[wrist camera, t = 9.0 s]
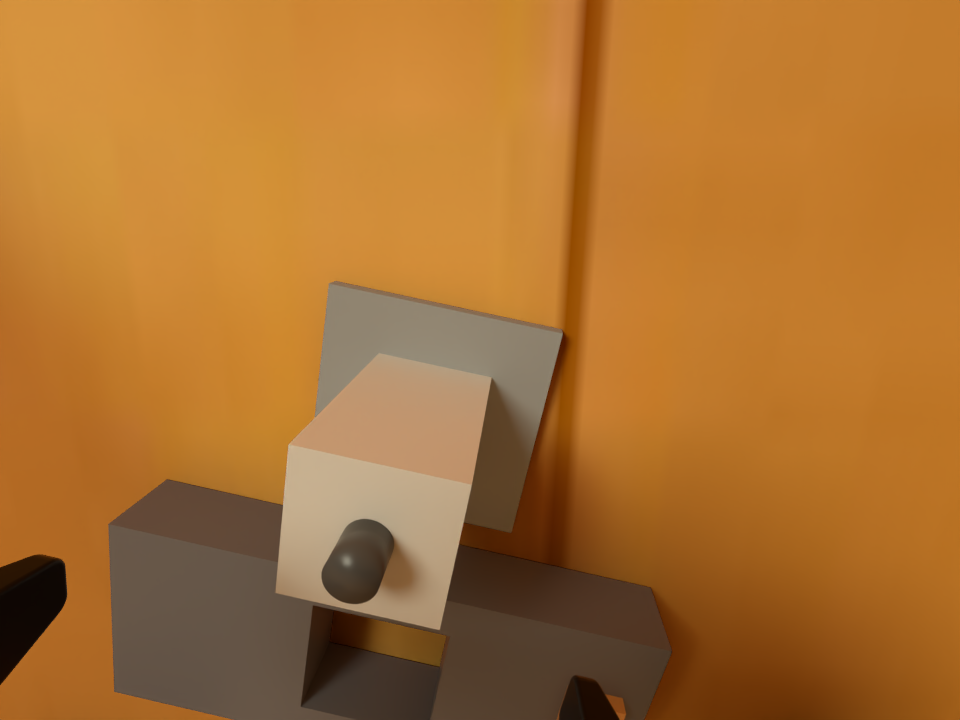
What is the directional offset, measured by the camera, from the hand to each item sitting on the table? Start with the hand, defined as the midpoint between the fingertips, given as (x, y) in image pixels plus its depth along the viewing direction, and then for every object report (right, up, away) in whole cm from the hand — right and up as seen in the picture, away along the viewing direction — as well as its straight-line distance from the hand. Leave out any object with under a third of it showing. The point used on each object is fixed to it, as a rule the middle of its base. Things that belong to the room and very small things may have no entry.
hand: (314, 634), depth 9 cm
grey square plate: (+1, +3, +10) cm, 10 cm away
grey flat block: (-1, -6, +13) cm, 14 cm away
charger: (+1, +3, +9) cm, 10 cm away
